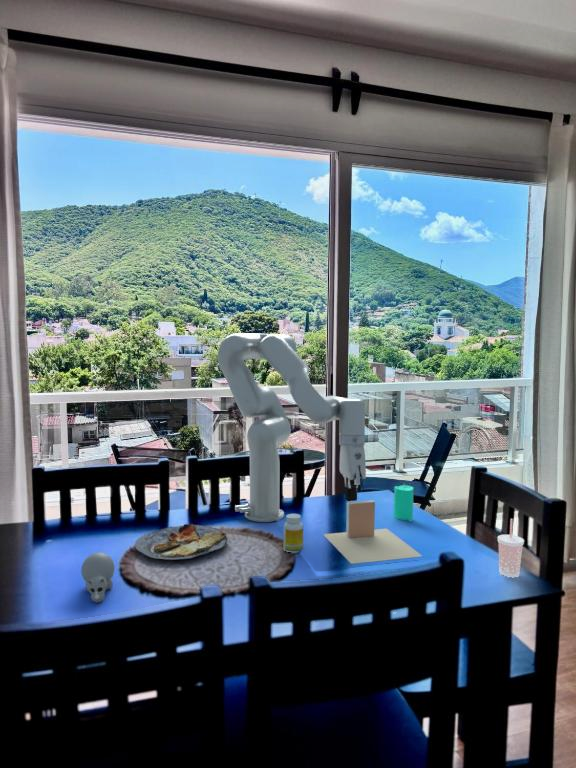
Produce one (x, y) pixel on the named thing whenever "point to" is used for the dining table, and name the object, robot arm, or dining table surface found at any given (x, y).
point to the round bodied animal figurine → (98, 574)
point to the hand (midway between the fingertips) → (351, 500)
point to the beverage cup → (510, 554)
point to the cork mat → (372, 547)
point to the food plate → (181, 541)
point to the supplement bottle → (293, 534)
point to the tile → (360, 518)
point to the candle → (403, 502)
